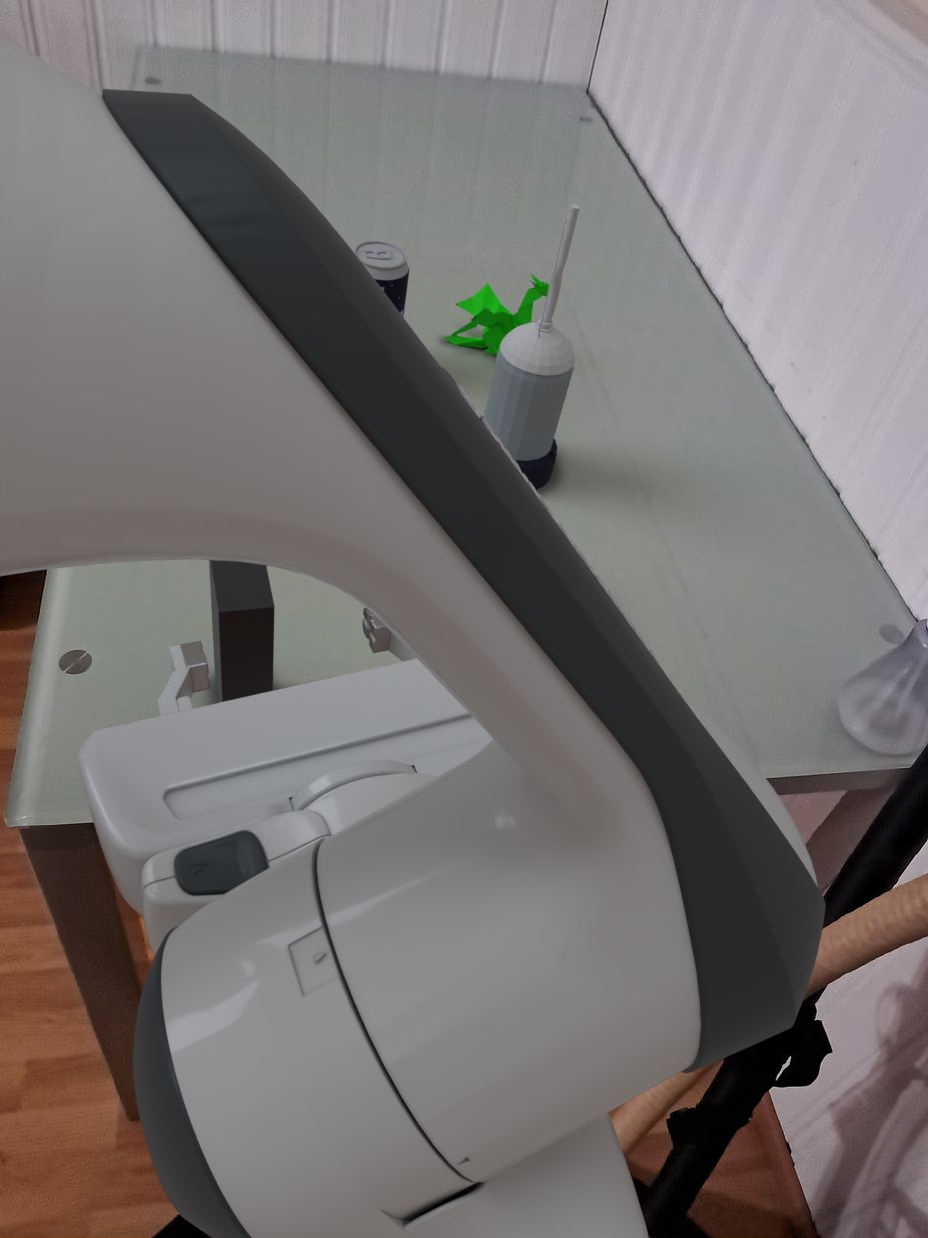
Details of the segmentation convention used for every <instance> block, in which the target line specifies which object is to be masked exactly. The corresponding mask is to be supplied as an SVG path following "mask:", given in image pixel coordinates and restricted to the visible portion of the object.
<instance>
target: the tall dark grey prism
mask: <svg viewBox="0 0 928 1238" xmlns="http://www.w3.org/2000/svg"><path fill="white" fill-rule="evenodd" d="M208 567H209V569H208V570H209V589H210V607H211V621H212V623H211V627H212V645H213V646H212V648H213V663H214V666H213V667H214V680H215V683H214V684H215V691H216V700H217V703H220V702H225V701H229V700H234V699H238V698H243V697H247V696H252V695H256V694H261V693H265V692H270V691H274V659H275V657H274V655H275V652H274V651H275V607H276V606H275V601H274V597H273V592H272V587H271V581H270V578H269V577H270V576H269V572H268V571H269V570H268V566H266V565H259V564H252V563H245V562H237V561H217V560H208Z"/></svg>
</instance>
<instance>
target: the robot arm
mask: <svg viewBox="0 0 928 1238" xmlns="http://www.w3.org/2000/svg"><path fill="white" fill-rule="evenodd" d="M581 551H582V550H580V548H579V547H578V546H577V544H576V543H575V542H574V541H573V539H572V538H571V537H570V535H569V534H568V532H567V530H566V528H564V526H563V525H562V524H561V523H559V522H558V521H557V519H556V517H555V515H554V513H553V511H552V510H551V508H550V506H549V505H548V504H547V502H546V501H545V500H544V498H543V497H542V495H541V494H540V493H539V492H538V491H537V490H536V489H535V487H534V486H533V485H532V483H531V482H529V480H528V478H527V477H526V475H525V474H524V473H523V474H522V471H521V469H520V467H519V465H518V464H517V462H516V461H515V460H514V459H512V456H511V454H510V453H509V451H508V450H507V449H506V447H504V446H503V444H502V442H501V440H500V439H499V437H498V436H497V435H495V434H494V432H493V431H492V429H491V427H490V426H489V424H488V422H487V421H486V420H485V418H484V415H483V414H482V413H481V411H480V410H479V409H478V407H477V406H475V404H474V403H473V402H472V401H471V399H470V397H469V396H468V395H467V393H466V391H465V390H464V388H463V386H462V385H461V384H460V383H459V382H456V380H455V379H454V377H453V376H452V375H451V373H450V372H448V371H447V369H445V368H444V367H442V366H441V364H439V362H438V361H437V360H436V359H435V357H434V356H433V354H432V353H431V352H430V351H429V350H428V348H427V346H426V345H425V344H424V342H423V341H422V340H421V339H420V337H419V336H418V335H417V334H416V332H415V331H414V330H413V328H412V327H411V326H410V324H409V323H408V322H407V320H406V319H405V318H404V317H403V316H402V315H401V314H400V312H399V311H398V310H397V308H396V307H395V306H394V304H393V303H392V302H391V300H390V299H389V298H388V296H387V295H386V294H385V292H384V291H383V290H382V288H381V287H380V286H379V284H378V283H377V282H376V281H375V279H374V278H373V277H372V275H371V274H370V273H369V271H368V270H367V269H366V267H365V266H364V265H363V263H362V262H361V261H360V260H359V258H358V257H357V256H356V254H355V251H354V250H353V249H352V248H351V246H350V245H349V244H348V243H347V242H346V241H345V239H344V238H343V237H342V236H341V234H339V232H338V230H336V228H335V227H334V226H333V224H332V223H331V222H330V221H329V220H328V219H327V218H326V216H325V215H324V214H323V213H322V212H321V210H320V209H318V207H317V206H316V205H315V204H314V202H312V200H311V199H310V198H309V197H308V196H307V195H306V194H305V192H304V191H303V190H302V189H301V188H300V187H299V186H298V185H297V184H296V183H295V181H293V180H292V179H291V178H290V177H289V176H288V175H287V174H286V173H285V171H284V170H283V169H282V168H281V167H280V166H279V165H278V164H277V163H276V162H274V161H273V160H272V159H271V158H270V157H269V155H267V153H265V152H264V151H263V150H262V149H261V148H260V147H258V146H257V144H255V143H254V142H253V141H252V140H251V139H249V138H248V137H247V136H246V135H245V134H244V133H243V132H242V131H241V130H239V129H238V128H237V127H236V126H234V125H233V123H231V122H230V121H228V120H227V119H225V117H223V116H221V115H220V113H217V112H216V111H214V110H213V109H212V108H211V107H209V106H208V105H206V104H205V103H203V102H202V101H201V100H199V99H198V98H197V97H195V95H193V94H191V93H177V92H163V91H162V92H161V91H144V90H130V89H129V90H127V89H112V88H111V89H110V88H103V89H102V93H100V92H99V91H96V90H94V89H93V88H91V87H89V86H88V85H86V84H84V83H82V82H81V81H79V80H77V79H76V78H74V77H72V76H71V75H69V74H68V73H65V72H64V71H63V70H60V69H59V68H57V67H56V66H54V65H53V64H51V63H49V62H48V61H46V60H45V59H43V58H41V57H40V56H38V55H37V54H36V53H33V52H32V51H31V50H29V48H27V47H25V46H24V45H22V44H21V43H19V42H17V41H16V40H14V39H13V38H12V37H11V36H9V35H8V34H6V33H5V32H3V31H2V30H1V29H0V577H4V576H11V575H16V574H23V573H28V572H29V573H31V572H36V571H44V570H55V569H66V568H76V567H85V566H86V567H87V566H94V565H95V566H96V565H105V564H118V563H119V564H121V563H136V562H153V561H154V562H155V561H188V560H189V561H191V560H193V561H194V560H199V561H209V560H217V561H237V562H245V563H252V564H259V565H266V566H267V567H272V568H273V567H274V568H278V569H282V570H286V571H289V572H293V573H297V574H301V575H304V576H309V577H310V578H312V579H315V580H318V581H320V582H323V583H324V584H328V585H330V586H332V587H335V588H336V589H337V590H340V591H342V592H343V593H345V594H346V595H348V596H350V597H351V598H353V600H355V601H357V602H358V603H359V604H361V605H362V606H363V607H364V608H363V609H362V615H363V619H362V620H361V621H362V624H361V625H362V631H363V635H364V637H365V639H367V640H368V645H369V647H370V649H371V652H372V654H378V653H382V652H387V651H388V652H389V653H391V654H392V655H394V656H395V657H396V658H397V659H399V660H400V662H395V663H390V664H386V665H382V666H377V667H372V668H367V669H364V670H359V671H355V672H351V673H346V674H341V675H337V676H333V677H328V678H323V679H318V680H314V681H311V682H305V683H301V684H297V685H293V686H287V687H283V688H279V689H273V691H270V692H265V693H261V694H256V695H252V696H247V697H243V698H238V699H234V700H229V701H225V702H220V703H218V702H216V703H213V704H207V705H202V706H198V707H194V705H193V702H192V698H193V696H194V694H195V693H199V692H203V691H207V690H211V681H210V680H211V679H210V676H209V674H210V671H209V670H210V669H209V663H208V660H207V656H206V653H205V652H204V646H203V642H202V640H197V641H192V642H187V643H182V644H177V645H176V644H175V645H171V646H170V645H169V646H168V652H169V658H170V665H171V670H172V672H171V673H170V676H169V678H168V680H167V682H166V684H165V686H164V688H163V690H162V691H161V694H160V696H159V697H158V699H157V703H156V704H157V708H158V709H157V710H158V714H159V715H158V716H154V717H150V718H144V719H140V720H136V721H132V722H128V723H123V724H117V725H112V726H108V727H104V728H100V729H97V730H94V731H93V732H92V733H91V734H90V735H89V737H88V738H87V739H86V740H85V742H84V743H83V745H82V746H81V748H80V749H79V751H78V752H77V756H76V760H77V765H78V769H79V774H80V778H81V782H82V786H83V791H84V794H85V799H86V802H87V806H88V808H89V813H90V815H91V818H92V819H91V820H92V822H93V826H94V829H95V831H96V835H97V838H98V841H99V844H100V847H101V850H102V852H103V855H104V858H105V861H106V863H107V865H108V868H109V871H110V874H111V876H112V878H113V880H114V882H115V884H116V887H117V889H118V892H119V893H120V895H121V896H122V898H123V899H124V900H125V902H126V903H127V904H128V905H129V907H131V909H133V910H134V911H135V912H137V913H138V914H139V915H141V916H142V919H143V925H144V929H145V933H146V934H145V935H146V938H147V941H148V944H149V947H150V949H151V952H152V955H153V956H154V957H153V959H152V961H151V964H150V965H149V968H148V972H147V974H146V976H145V980H144V983H143V986H142V989H141V994H140V997H139V1003H138V1007H137V1013H136V1021H135V1026H134V1027H135V1028H134V1036H133V1050H132V1077H133V1078H132V1079H133V1086H134V1092H135V1094H134V1095H135V1101H136V1106H137V1111H138V1115H139V1120H140V1125H141V1129H142V1133H143V1137H144V1141H145V1144H146V1148H147V1151H148V1154H149V1157H150V1160H151V1163H152V1167H153V1169H154V1171H155V1173H156V1176H157V1179H158V1181H159V1184H160V1186H161V1188H162V1189H163V1193H165V1195H166V1197H167V1200H168V1201H169V1203H170V1204H171V1205H172V1207H173V1208H174V1209H175V1211H176V1212H177V1213H178V1214H179V1215H180V1216H181V1217H182V1218H183V1219H184V1220H186V1221H187V1222H189V1224H191V1225H193V1226H194V1227H196V1228H197V1229H198V1230H200V1231H201V1232H203V1233H204V1234H206V1235H207V1236H209V1237H211V1238H649V1232H648V1229H647V1224H646V1221H645V1218H644V1214H643V1211H642V1208H641V1204H640V1202H639V1198H638V1195H637V1194H638V1193H637V1191H636V1188H635V1184H634V1181H633V1178H632V1175H631V1173H630V1169H629V1166H628V1163H627V1160H626V1158H625V1155H624V1152H623V1149H622V1145H621V1143H620V1140H619V1137H618V1135H617V1132H616V1129H615V1126H614V1122H613V1120H612V1117H611V1114H610V1112H611V1111H614V1110H615V1109H616V1108H618V1107H620V1106H622V1105H624V1104H626V1103H629V1101H631V1100H633V1099H635V1098H636V1097H638V1096H640V1095H642V1094H644V1093H646V1092H648V1091H649V1090H651V1089H653V1088H655V1087H657V1086H658V1085H660V1084H662V1083H664V1082H666V1081H667V1080H669V1079H671V1078H673V1077H674V1076H676V1075H678V1074H680V1073H683V1074H690V1073H694V1072H696V1071H698V1070H700V1069H702V1068H705V1067H707V1066H710V1065H711V1064H713V1063H716V1062H718V1061H721V1060H723V1059H725V1058H727V1057H729V1056H732V1055H734V1054H736V1053H739V1052H741V1051H743V1050H745V1049H747V1048H749V1047H752V1046H754V1045H756V1044H759V1043H761V1042H763V1041H765V1040H767V1039H769V1038H773V1037H774V1036H776V1035H778V1034H779V1035H780V1033H781V1034H782V1033H783V1032H785V1031H787V1030H790V1029H791V1028H792V1027H793V1026H794V1025H795V1022H796V1019H797V1017H798V1014H799V1011H800V1009H801V1007H802V1004H803V1001H804V999H805V996H806V993H807V990H808V988H809V983H810V980H811V977H812V974H813V971H814V968H815V966H816V965H815V964H816V961H817V957H818V953H819V949H820V944H821V939H822V934H823V927H824V923H825V915H826V901H825V899H824V897H823V894H822V892H821V890H820V889H819V885H818V880H817V875H816V871H815V868H814V865H813V861H812V858H811V856H810V853H809V851H808V849H807V846H806V843H805V841H804V839H803V837H802V835H801V832H800V830H799V829H798V826H797V825H796V823H795V821H794V819H793V817H792V816H791V814H790V813H789V811H788V808H787V807H786V806H785V805H784V802H783V801H782V800H781V798H780V796H779V794H778V793H777V792H776V790H775V789H774V787H773V786H772V784H771V783H770V782H769V781H768V779H767V778H766V776H765V775H764V774H763V773H762V772H761V771H760V769H759V768H758V766H757V765H756V764H755V763H754V761H752V759H751V758H750V757H749V756H748V755H747V754H746V753H745V751H743V749H742V748H741V747H740V746H739V745H738V744H737V742H735V741H734V739H733V738H731V737H730V736H729V735H728V733H726V732H725V731H724V730H723V729H722V728H721V727H720V726H718V724H716V722H714V720H712V719H711V718H710V717H709V716H707V714H705V713H704V712H703V711H702V710H700V709H699V708H698V707H697V706H696V705H695V704H694V703H692V702H691V701H690V700H689V699H687V698H686V697H685V696H684V695H683V694H682V693H680V692H679V690H678V689H677V687H676V686H675V685H674V684H673V682H672V681H671V679H670V678H669V677H668V675H667V674H666V672H665V671H664V668H663V667H662V665H661V664H660V661H659V659H658V658H657V656H656V654H655V653H654V651H653V650H652V649H651V648H649V647H648V644H647V643H646V641H645V639H644V637H643V636H642V634H641V633H640V632H639V631H638V630H637V628H636V626H635V625H634V623H633V622H632V621H631V619H630V618H629V616H628V615H627V614H626V613H625V611H624V610H623V609H622V607H621V606H620V605H619V603H618V601H617V600H616V599H615V597H614V596H613V594H612V593H611V591H610V590H609V589H607V586H605V584H604V582H603V581H602V579H601V577H600V576H599V575H598V574H597V572H596V571H595V569H594V568H593V566H592V565H590V564H589V561H588V560H587V559H586V557H585V556H584V554H583V552H581Z"/></svg>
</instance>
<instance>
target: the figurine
mask: <svg viewBox="0 0 928 1238" xmlns="http://www.w3.org/2000/svg"><path fill="white" fill-rule="evenodd" d="M530 275H531V278H532V280H533V281H532V280H529V281H530V282H531V284H532V285H533V287H531V288H527V290H526V292H525V295H524V297H523V299H522V301H521V303H520V305H519V307H518V309H517V312H515V313H512V312H510V310H508V309H507V308H506V307H505V306H504V305H503V304H502V303H501V301H500V299H499V298H498V296H497V295H496V294H495V292H494V291H493V289H492V288H491V286H490V284H489V283H488V282H487V283H486V284H485V285H484V286H482V288H480V289H479V290H478V291H477V292H476V293H475V294H473V296H471V297H468V298H466V299H464V300H461V301H459V302H457V303H455V306H456V307H459V308H460V309H462V310H464V311H465V312H466V313H468V314H470V315H472V316H473V317H472V318H470V322H468V323H466V324H465V325H463V326H462V327H460V328H459V329H457V330H455V331H454V332H453V333H451V334H450V335H449V336H444V337H443V338H444V339H445V340H446V341H448V342H449V343H450V344H452V345H455V346H462V347H469V348H478V349H484V350H483V352H484V353H487V354H489V355H491V356H493V355H496V356H497V353H498V351H499V348H500V344H501V342H502V340H503V339H504V337H505V336H506V335H507V334H508V333H509V332H510V331H512V330H513V329H515V328H516V327H518V326H521V325H524V324H527V323H530V322H532V316H533V310H534V309H533V307H534V302H535V301H537V300H539V299H540V298H542V297H545V298H546V297H547V292H548V287H549V284H550V283H548V282H547V281H544V280H540V279H539V278H538V277H536V275H534V274H533V273H530ZM478 325H479V326H481V327H484V328H482V334H481V336H482V337H473V336H472V337H471V336H460V335H459V334H462V333H465V332H467V331H470V330H472V329H475V328H477V327H478ZM486 347H487V348H486Z"/></svg>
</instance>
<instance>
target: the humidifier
mask: <svg viewBox="0 0 928 1238" xmlns="http://www.w3.org/2000/svg"><path fill="white" fill-rule="evenodd" d="M580 207H581V206H580V205H578V204H577V203H572V204H570V207H569V210H568V215H567V217H565V221H564V225H563V230H562V232H561V233H562V234H561V237H560V242H559V244H558V245H559V246H558V250H557V254H556V257H555V260H554V263H553V267H552V270H551V275H550V280H549V283H548V284H549V287H548V292H547V296H546V297H545V302H544V307H543V309H542V312H541V315H540V317H539V318H538V320H537V321H533V322H532V321H531V322H530V323H527V324H524V325H521V326H518V327H516V328H515V329H513V330H512V331H510V332H509V333H508V334H507V335H506V336H505V337H504V339H503V340H502V342H501V344H500V348H499V351H498V353H497V355H496V358H495V362H494V367H493V372H492V375H491V381H490V385H489V389H488V390H489V391H488V396H487V400H486V404H485V410H484V415H483V417H484V418H485V420H486V421H487V422H488V424H489V426H490V427H491V429H492V431H493V432H494V434H495V435H497V436H498V437H499V439H500V440H501V442H502V444H503V446H504V447H506V449H507V450H508V451H509V453H510V454H511V456H512V459H514V460H515V461H516V462H517V464H518V465H519V467H520V469H521V471H522V474H523V473H524V474H525V475H526V477H527V478H528V480H529V482H531V483H532V485H533V486H534V487H535V489H536V491H537V490H539V489H542V488H543V487H545V486H546V484H548V482H549V481H550V480H551V477H552V475H553V469H554V467H555V466H554V465H555V463H556V460H557V457H558V453H557V451H558V444H557V440H556V438H555V436H556V434H557V433H556V432H557V428H558V426H559V422H560V418H561V415H562V411H563V407H564V404H565V400H566V397H567V393H568V390H569V387H570V384H571V380H572V375H573V372H574V369H575V361H576V357H575V352H574V349H573V346H572V344H571V342H570V341H569V339H568V338H567V336H565V334H564V333H563V332H562V331H561V330H560V329H559V328H557V327H556V326H554V325H553V321H552V320H553V316H554V313H555V310H556V307H557V303H558V301H559V297H560V292H561V287H562V279H563V272H564V269H565V266H566V263H567V259H568V256H569V253H570V249H571V245H572V241H573V236H574V233H575V228H576V225H577V222H578V217H579V214H580V213H579V212H580Z"/></svg>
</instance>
